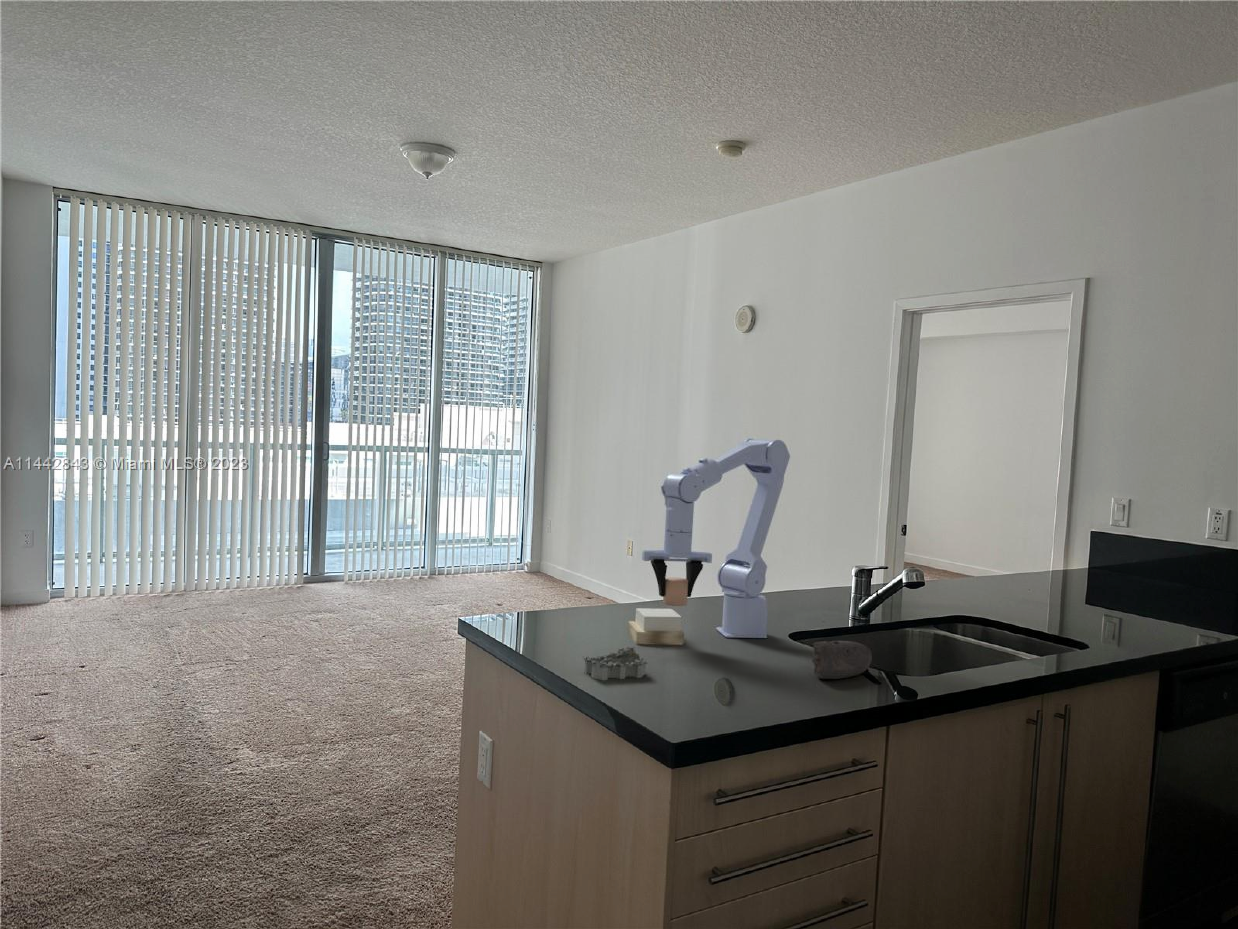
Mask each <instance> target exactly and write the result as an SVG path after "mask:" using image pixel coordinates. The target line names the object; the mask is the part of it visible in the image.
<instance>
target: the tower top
mask: <svg viewBox="0 0 1238 929" xmlns="http://www.w3.org/2000/svg"><path fill="white" fill-rule="evenodd" d="M634 619H635V620H634V621H635V622H636V623H637V624H638V625H639V626H640V628H641V629H642V630H643V631H681V630H682V616H681V615H680V614H679V613H677V611H675V609H673V608H646V607H645V608H643V607H642V608H641V607H640V608H638V607H637V608H635V618H634Z"/></svg>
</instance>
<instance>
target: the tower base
mask: <svg viewBox="0 0 1238 929" xmlns="http://www.w3.org/2000/svg"><path fill="white" fill-rule="evenodd" d="M627 624H628V625H627V633H628V635H629V636H630V637H631V639H632V641H633V642H634V643H635V644H636V645H674V646H677V645H680V646H681V645H683V646H684V639H685V638H684V636H685V633H684V631H683V630H682V629H681V631H643V630H642V629H641V628H640V626H639V625H638V624H637V623H636V622H635V620H628V623H627Z"/></svg>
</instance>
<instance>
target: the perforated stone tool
mask: <svg viewBox="0 0 1238 929" xmlns="http://www.w3.org/2000/svg"><path fill="white" fill-rule="evenodd" d="M812 644H813V646H812V649H813V651H812V656H811V657H812V659H811V661H812V664H813V666H814V669H813V670H814V671H813V673H814V675H815V676H817V678H820V679H821V680H822V679H823V680H838V679H845V678H846V679H848V678H850V677H851V678H852V677H854V676H859V675H860V674H862V673H865V671H867V670H868V668H869V667H870V666H871V663H872V659H873V658H872V656H873V655H872V651H871V650H870V648H869V647H868V646H866V645H865V644H862V643H860V642H856V641H850V640H832V641H827V640H826V641H825V640H824V641H815V642H813V643H812Z"/></svg>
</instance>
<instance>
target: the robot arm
mask: <svg viewBox="0 0 1238 929" xmlns="http://www.w3.org/2000/svg"><path fill="white" fill-rule="evenodd" d="M790 458H791V455H790V452H789V449H788V447H787V444H786V443H785V442H784V441H783V440H780V439H754V438H747V439H745V440H744V441H740V442H738V445H737V446H735V447H734V448H732V449H731V450H729V451H727V452H725V453H724V454H722V455H721V456H720V457H718V458H716V459H715V460H714V459H712V458H710V457H709V458H707V457H702V458H700V459H699V458H698V462H697V463H696V464H694V465H692V466H689V467H684V468H683V469H682V471H681V472H680V473H675V472H674V473H670V474H669V475H667V477H666V478H665V479H664V481H663V485H661V487H660V489H661V494H662V495H663V497H664V505H665V507H666V508H665V524H664V525H665V526H664V527H665V528H664V541H663V549H660V550H658V549H657V550H656V549H655V550H642V553H641V555H642V556H641V560H642V561H644V562H650V564H651V567H652V569H653V571H654V575H655V578H656V581H657V587H658V595H659V596H660V597H661V598H662V597H664V596H665V578H667V570H668V565H667V564H666V562H685V570H686V571H685V574H686V575H685V579H687V580H688V595H687V598H691V597H692V593H693V590H694V587H695V584H696V581H697V579H698V577H699V576H700V574H701V572H702V570H703V569H704V564H703V563H706V564H712V563H713V553H711V552H707V551H705V552H702V551H693V550H692V545H693V544H692V543H693V528H694V513H695V512H694V510H695V502H697V501H698V499H699V498H700V497H701V494H702V492H704V491H706V490H708V489H710V488H711V487H713V486H714V485H716V484H719V483H720V482H721V481H722V479H723V475H724V474H726V473H728V472H730V471H732V470H734V469H735V470H736V469H737V468H738V467H741V466H743V465H744V466H745V468H746V469H747V470H748V471H749V473H750V474H751V476H752V477H753V478H755V481H756V482H757V483H756V484H757V485H756V488H755V492H754V494H753V498H752V501H751V504H750V507H749V510H748V512H747V513H748V514H747V516H746V520H745V523H744V526H743V528H742V532H741V536H740V538H739V542H738V543H737V547H736V549H734V550H732V551H730V552H729V553H728V554H726V556H725V559H724V562H723V563H722V565H721V566H720V567H719V569H718V572H717V582H718V585H719V586H720V587H721V593H723V604H722V605H723V606H722V626H717V627H716V628H715V629H716V630H717V631H718V632H719V633H720V634H721V635H722V636H724V637H725V638H736V639H737V638H741V639H742V638H747V639H748V638H750V639H751V638H752V639H757V638H758V639H767V638H768V635H767V624H768V601H767V598H766V596H764V595H761V593H762V592H763V590H764V588H765V585H766V574H767V569H768V565H767V564H766V562H765V561H764V559H763V558H762V556H761V555H762V552H763V549H764V547H765V543H766V541H767V536H768V534H769V530H770V527H771V523H772V520H773V518H774V515H775V512H776V508H777V504H778V502H779V499H780V496H781V493H782V490H783V485H784V483H785V480H784V479H785V474H786V471H787V468H788V464H789V463H790V462H789V461H790V460H791V459H790Z"/></svg>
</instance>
